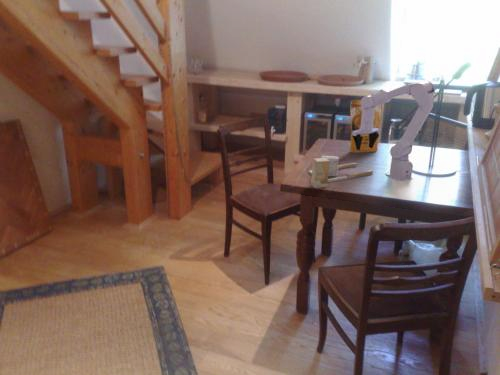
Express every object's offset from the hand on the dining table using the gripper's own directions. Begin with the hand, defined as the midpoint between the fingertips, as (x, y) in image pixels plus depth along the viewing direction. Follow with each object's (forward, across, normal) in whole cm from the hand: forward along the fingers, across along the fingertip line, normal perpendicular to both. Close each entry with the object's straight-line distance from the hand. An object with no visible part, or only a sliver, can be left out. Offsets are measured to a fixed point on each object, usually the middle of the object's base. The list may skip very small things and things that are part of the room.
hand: (364, 148), depth 212 cm
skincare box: (+10, +33, +13) cm, 37 cm away
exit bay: (+9, +23, +3) cm, 25 cm away
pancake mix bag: (+10, -17, -22) cm, 29 cm away
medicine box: (+10, +21, +3) cm, 24 cm away
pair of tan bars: (+9, +9, +3) cm, 13 cm away
